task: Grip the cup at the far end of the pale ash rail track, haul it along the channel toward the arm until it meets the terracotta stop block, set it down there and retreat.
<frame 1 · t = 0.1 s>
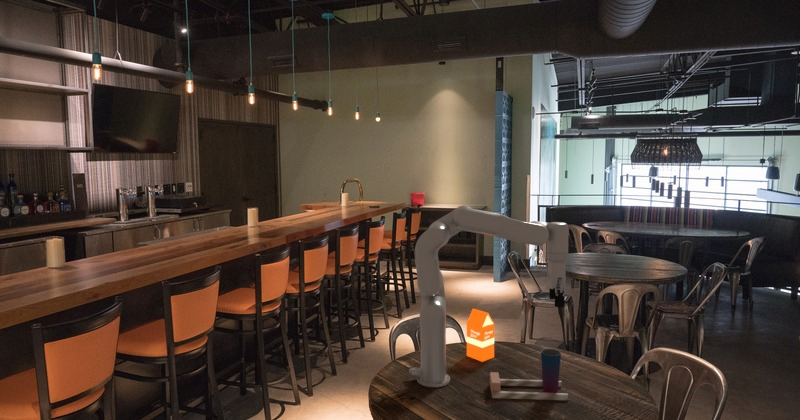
hand: (556, 302, 188), 31 cm above the table, tool pointing down, fingers open, 9 cm apart
orange juice: (480, 357, 218), on the table
cup: (550, 393, 184), on the table
track: (527, 391, 185), on the table
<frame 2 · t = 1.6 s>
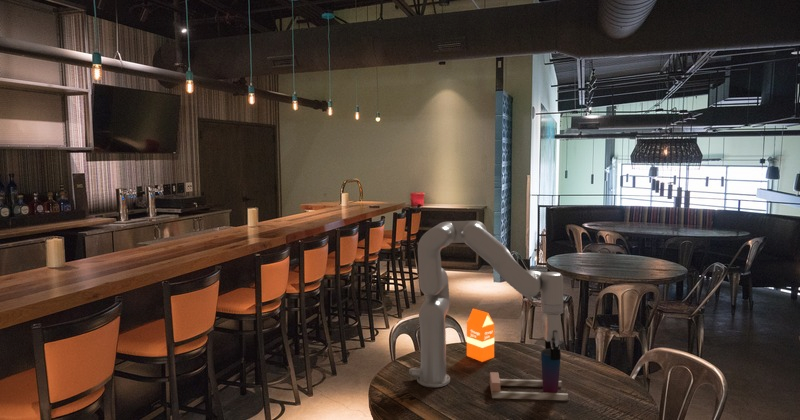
hand: (552, 354, 183), 14 cm above the table, tool pointing down, fingers open, 9 cm apart
nothing on the table moved.
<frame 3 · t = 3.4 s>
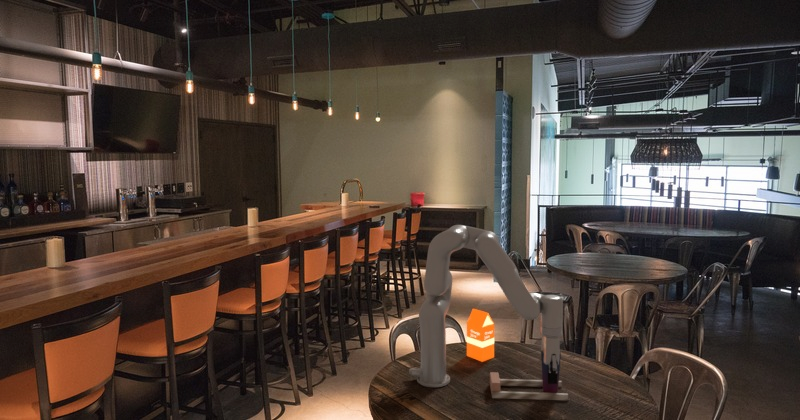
hand: (550, 378, 184), 5 cm above the table, tool pointing down, fingers closed on cup, 6 cm apart
cup: (550, 393, 184), on the table, touching gripper
everything else where it was.
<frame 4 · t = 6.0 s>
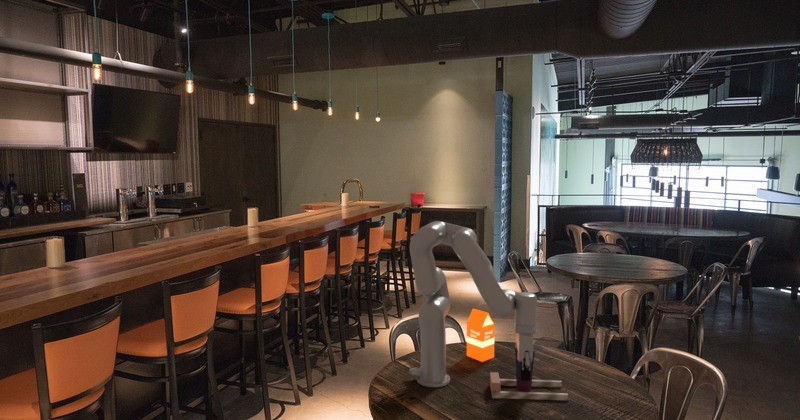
hand: (524, 375, 185), 6 cm above the table, tool pointing down, fingers closed on cup, 6 cm apart
cup: (523, 389, 185), point 1 cm above the table, touching gripper
everything else where it was.
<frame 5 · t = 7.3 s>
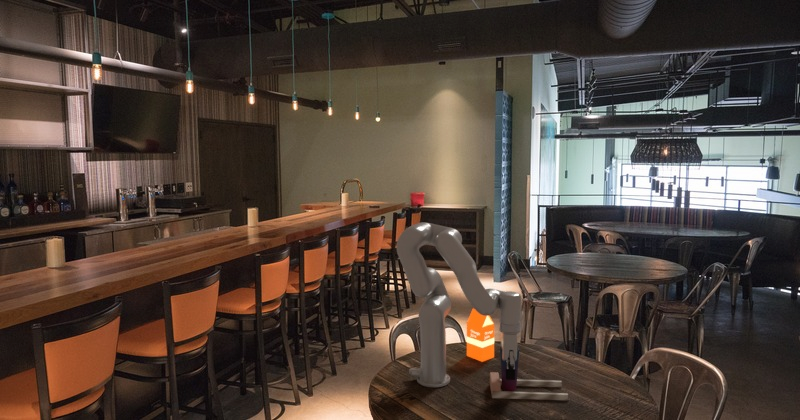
hand: (509, 374, 185), 6 cm above the table, tool pointing down, fingers closed on cup, 6 cm apart
cup: (509, 388, 186), point 1 cm above the table, touching gripper
everything else where it was.
when the fingers open (5 cm above the table, at t = 8.6 s): cup stays where it is, on the table.
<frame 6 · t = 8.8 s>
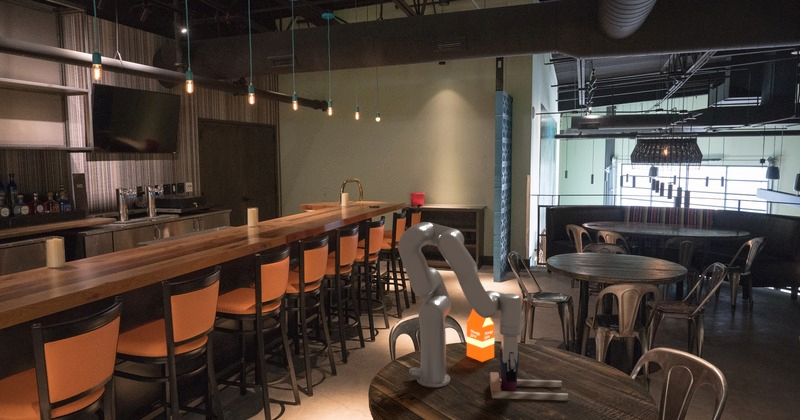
hand: (509, 376, 185), 6 cm above the table, tool pointing down, fingers open, 7 cm apart
cup: (509, 391, 186), on the table
everything else where it was.
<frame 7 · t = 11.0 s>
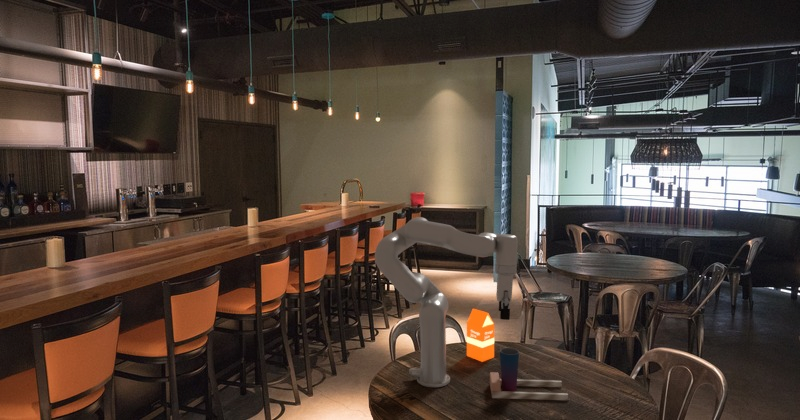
hand: (503, 315, 187), 27 cm above the table, tool pointing down, fingers open, 9 cm apart
nothing on the table moved.
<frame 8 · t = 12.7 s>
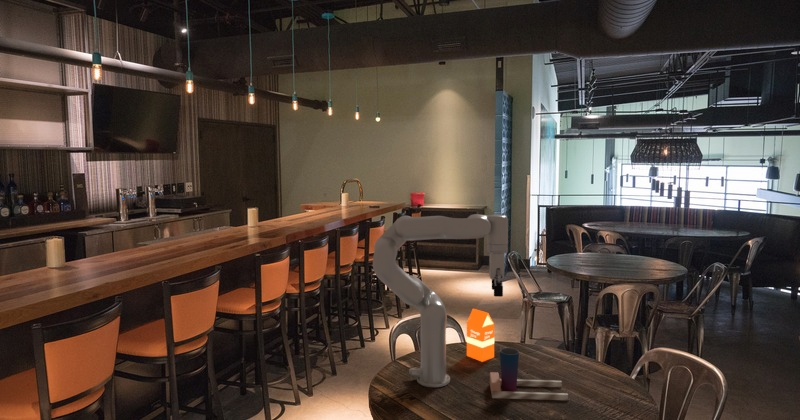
hand: (497, 292, 194), 33 cm above the table, tool pointing down, fingers open, 9 cm apart
nothing on the table moved.
at the end: cup 0.3 cm from the target spot, on the table; cup tilted 0°; the gripper is holding nothing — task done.
